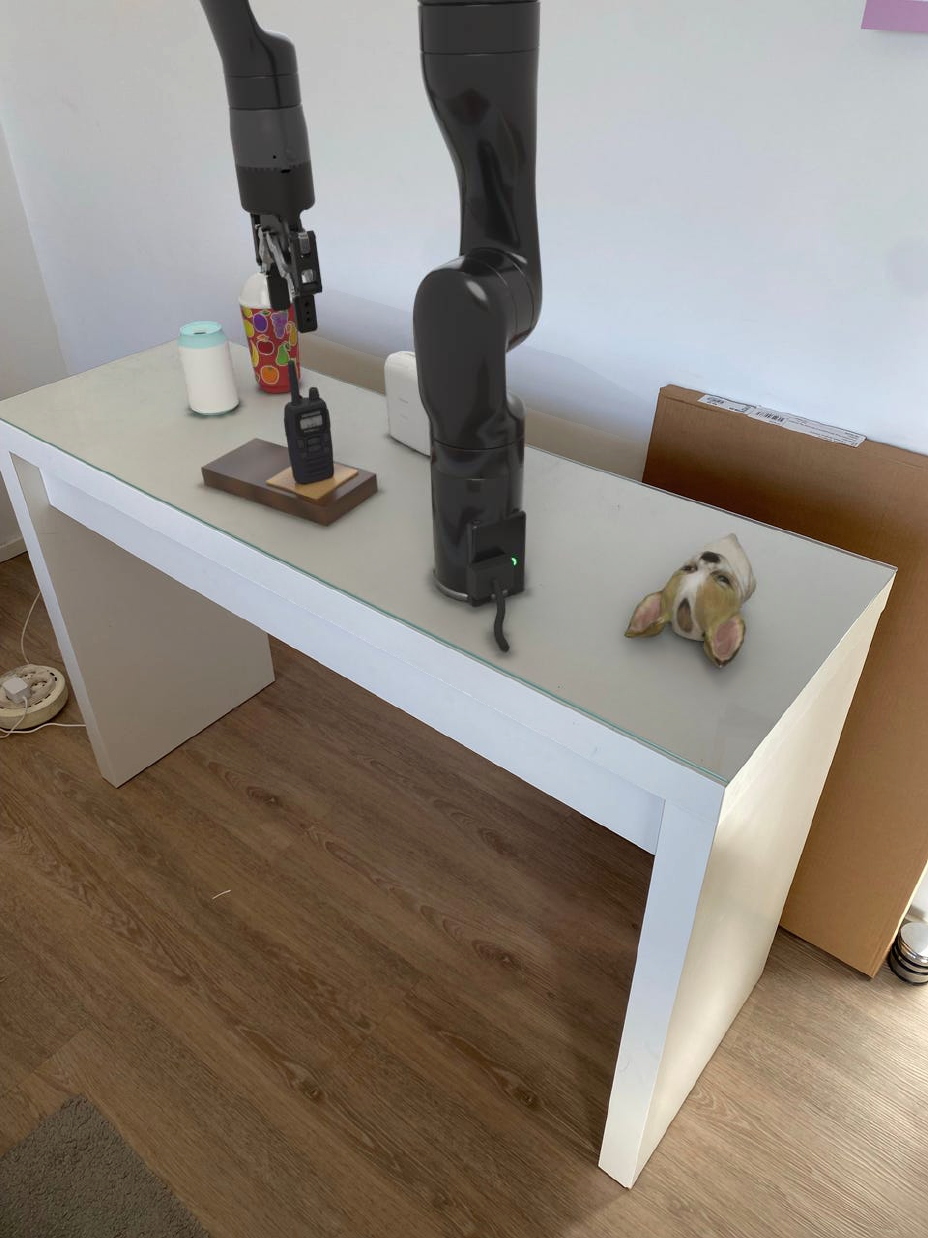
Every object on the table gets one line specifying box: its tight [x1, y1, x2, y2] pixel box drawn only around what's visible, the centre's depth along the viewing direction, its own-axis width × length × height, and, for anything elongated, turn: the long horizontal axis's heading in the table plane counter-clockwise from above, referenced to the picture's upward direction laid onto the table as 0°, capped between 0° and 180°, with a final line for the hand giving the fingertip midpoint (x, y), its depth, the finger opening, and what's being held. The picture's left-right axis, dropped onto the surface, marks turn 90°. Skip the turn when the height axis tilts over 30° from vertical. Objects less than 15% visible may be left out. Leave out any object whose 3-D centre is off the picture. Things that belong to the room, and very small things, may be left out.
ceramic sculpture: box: [624, 532, 758, 670], centre depth 87 cm, size 11×9×15 cm
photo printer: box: [383, 350, 430, 457], centre depth 121 cm, size 10×4×12 cm, turn 39°
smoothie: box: [237, 266, 301, 394], centre depth 135 cm, size 8×8×20 cm
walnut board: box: [200, 437, 379, 527], centre depth 114 cm, size 20×10×3 cm, turn 58°
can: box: [176, 320, 240, 416], centre depth 131 cm, size 7×7×12 cm
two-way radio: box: [283, 360, 334, 484], centre depth 106 cm, size 6×4×15 cm
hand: (293, 320), depth 100 cm, fingers open, 8 cm apart
